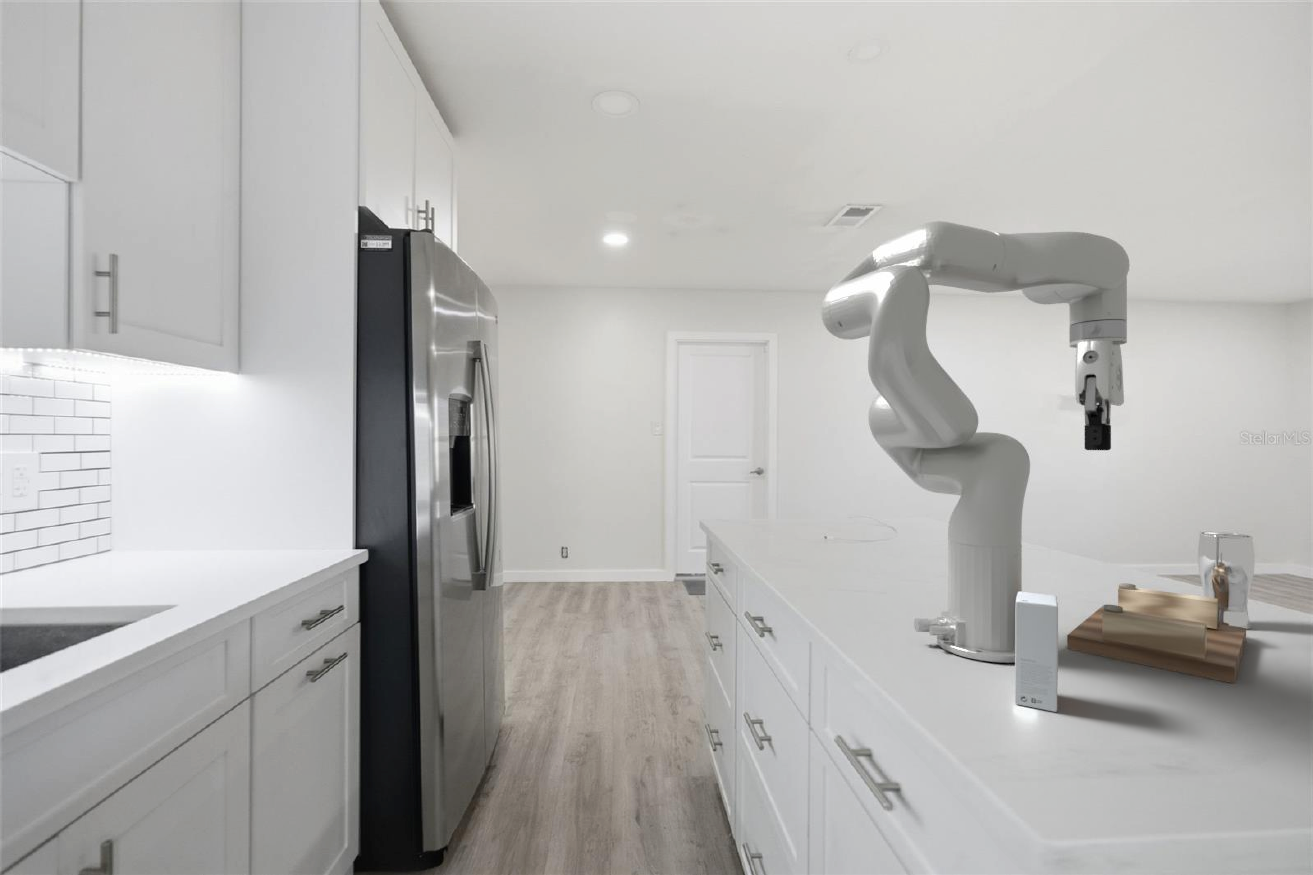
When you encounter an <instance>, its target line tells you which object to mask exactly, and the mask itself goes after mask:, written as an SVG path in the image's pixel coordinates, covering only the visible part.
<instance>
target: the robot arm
mask: <svg viewBox="0 0 1313 875" xmlns="http://www.w3.org/2000/svg"><path fill="white" fill-rule="evenodd" d="M1129 271H1130V259H1129V256H1128V253H1127V251H1126V249H1124V247H1123V246H1122V245H1121V244H1120V243H1119V242H1117V241H1116V240H1114V239H1111V238H1109V237H1106V236H1103V235H1098V234H1094V233H1088V232H1081V231H1049V232H1046V231H1045V232H1022V233H1021V232H1018V233H1017V232H1015V233H1003V232H997V231H993V230H987V229H982V228H977V227H974V226H973V227H972V226H969V225H964V224H960V223H959V224H958V223H953V222H949V221H939V220H938V221H931V222H926V223H924V224H921V225H918V226H916V227H914V228H912V229H909V230H907V231H904V232H902V233H900V234H898V235H895V236H893V237H891V238H889V239H886V240H885V241H883V242H882V243H880V244H879V245H878V246H876V247H875V248H874V249H873V250H872V251H871V252H869V253H868V254H867V255H866V256H865V257H864V258H862V259H861V261H860V262H858V263H857V264H856V265H855V266H854V267H853V268H852V269H851V270H849V271H848V272H847V273H846V274H845V275H844V276H843V277H842V278H840V279H839V280H838V281H837V282H836V283H835V284H834V285H833V286H832V287H831V288H830V289H829V290H828V291H827V293H826V295H825V296H824V298H823V300H822V304H821V312H820V313H821V314H820V315H821V320H822V323H823V325H824V327H825V328H826V330H827V331H828V332H829V333H830V334H831V335H832V336H834V337H837V338H839V339H842V340H856V339H861V338H865V337H869V344H868V353H867V371H868V375H869V378H870V380H871V382H872V385H873V387H875V390H876V391H877V392H878V395H876V396H875V397H874V399H873V400H872V402H871V404H870V407H869V409H868V424H869V429H870V432H871V434H872V436H873V438H874V440H875V442H876V443H877V444H878V445H879V446H880V448H881V449H882V450H883V451H884V452H885V453H886V454H887V456H888V457H889V458H891V460H892V461H893V462H894V463H895V464H896V465H897V466H898V468H900V469H901V470H902V472H904V473H905V474H906V475H907V477H909V479H910V480H911V481H913V482H914V483H915V485H917V486H919V487H920V488H922V489H924V490H925V491H927V492H932V493H937V494H945V495H946V494H947V495H956V496H960V498H959V499H958V502H957V503H956V505H955V507H953V508H954V509H953V511H952V512H951V515H950V518H949V522H948V528H947V541H948V544H947V545H948V546H947V547H948V548H947V551H948V553H947V554H948V555H947V556H948V558H947V561H948V562H947V565H948V566H947V568H948V569H947V571H948V572H947V573H948V576H947V577H948V578H947V579H948V580H947V582H948V583H947V585H948V588H947V591H948V592H947V595H948V596H947V597H948V598H947V603H948V606H947V608H948V609H947V611H941V616H937V617H935V619H929V618H914V621H913V625H914V626H913V628H914V630H915V632H916V633H917V632H918V633H929V635H930V636H936V643H937V645H938V646H939V648H942V649H944V650H945V651H947V652H949V653H951V654H954V655H957V656H960V657H963V658H968V659H972V660H977V661H984V662H990V663H1008V664H1010V663H1011V664H1013V663H1014V664H1015V608H1016V596H1017V594H1018V592H1019V591H1021V592H1023V591H1022V590H1023V583H1022V580H1023V579H1022V578H1023V577H1022V576H1023V574H1022V573H1023V572H1022V571H1023V570H1022V568H1023V566H1022V563H1023V562H1022V560H1023V558H1022V553H1023V550H1022V547H1023V546H1022V533H1023V532H1022V529H1023V527H1022V525H1023V522H1022V521H1023V509H1024V502H1025V496H1026V491H1027V486H1028V483H1029V479H1030V471H1031V460H1030V456H1029V453H1028V451H1027V449H1026V448H1025V446H1024V445H1023V443H1021V442H1020V441H1019V440H1018V439H1016V438H1014V437H1012V436H1010V435H1007V434H1005V433H999V432H989V431H988V432H987V431H985V432H981V431H980V432H979V431H978V432H977V430H978V427H979V416H978V412H977V410H976V408H975V406H974V404H973V402H972V401H971V400H970V399H969V397H968V396H967V395H966V394H965V392H964V391H963V390H962V389H961V388H960V387H959V385H958V384H957V383H956V382H955V381H954V380H953V379H952V377H951V376H950V374H949V373H948V372H947V371H946V370H945V369H944V367H942V366H941V363H939V361H938V360H937V359H936V358H935V356H934V355H933V353H932V352H931V350H930V348H929V344H928V339H927V323H928V314H929V308H930V300H931V297H930V287H929V286H932V285H933V286H943V287H949V288H955V289H963V290H970V291H975V292H980V293H986V294H989V293H990V294H993V293H994V294H995V293H1004V292H1014V291H1020V290H1021V292H1022V293H1023V295H1024V296H1025V297H1026V298H1027V299H1028V300H1029V301H1031V302H1033V303H1036V304H1039V305H1055V304H1056V305H1057V304H1068V305H1069V310H1068V311H1069V314H1068V315H1069V316H1068V317H1069V328H1068V329H1069V330H1068V331H1069V333H1068V334H1069V348H1073V349H1075V348H1076V351H1075V371H1074V372H1075V375H1074V379H1075V380H1074V381H1075V383H1074V384H1075V385H1074V388H1075V391H1074V392H1075V400H1076V403H1077V404H1079V405H1080V406H1084V409H1083V410H1084V450H1085V451H1110V450H1111V449H1112V425H1111V416H1112V415H1111V413H1112V412H1111V410H1112V409H1111V408H1112V405H1113V406H1116V407H1120V406H1122V405H1123V404H1124V403H1125V396H1124V392H1125V391H1124V376H1123V371H1124V368H1123V359H1122V356H1123V355H1122V350H1121V345H1124V344H1127V343H1128V320H1127V319H1128V297H1127V296H1128V285H1127V284H1128V277H1127V276H1128V274H1129Z"/></svg>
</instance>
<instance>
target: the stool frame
mask: <svg viewBox="0 0 1313 875" xmlns="http://www.w3.org/2000/svg"><path fill="white" fill-rule="evenodd" d="M1066 642H1067V643H1066V646H1067V647H1066V649H1067V650H1072V651H1077V652H1080V653H1086V654H1092V655H1096V656H1100V657H1106V658H1111V659H1115V660H1118V661H1125V662H1130V663H1133V664H1139V665H1144V666H1150V667H1155V668H1157V669H1158V668H1159V669H1163V670H1168V671H1174V672H1177V673H1178V672H1179V673H1183V674H1188V675H1193V676H1198V677H1202V678H1208V679H1212V680H1216V681H1221V682H1226V683H1230V684H1236V680H1237V676H1238V672H1239V668H1240V667H1241V666H1240V665H1241V661H1242V657H1243V654H1244V650H1245V646H1246V643H1247V630H1246V628H1242V627H1236V626H1230V625H1223V624H1220V605H1218V626H1217V629H1214V628H1207V623H1201V622H1195V621H1188V620H1182V619H1176V618H1170V617H1163V616H1157V615H1151V614H1145V613H1138V612H1132V611H1126V610H1123V607H1120V606H1118V605H1116V604H1103V605H1102V606H1101V607H1099V608H1098V609H1097V610H1096V611H1095V612H1093V613H1092V614H1091V615H1089V616H1088V617H1087V618H1086V619H1085V620H1084V621H1083V622H1081V623H1080V624H1079V625H1077V626H1076V627H1075V628H1074V629H1072V631H1070V632H1069V633H1068V634H1067V635H1066Z"/></svg>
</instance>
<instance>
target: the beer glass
mask: <svg viewBox="0 0 1313 875" xmlns="http://www.w3.org/2000/svg"><path fill="white" fill-rule="evenodd" d="M1198 538H1199V539H1198V547H1197V548H1198V549H1197V564H1198V565H1197V566H1198V572H1199V573H1198V574H1199V577H1200V581H1201V586H1202V591H1203V597H1208V598H1216V599H1218V605H1220V624H1223V625H1230V626H1236V627H1242V628H1246V631H1247V630H1249V629H1251V627H1252V626H1251V625H1252V624H1251V620H1250V617H1249V611H1248V604H1249V603H1248V600H1249V596H1250V593H1251V592H1250V591H1251V588H1252V584H1253V580H1254V579H1253V578H1254V573H1255V550H1254V542H1253V536H1252V535H1250V534H1243V533H1237V532H1236V533H1235V532H1223V531H1200V532H1199V537H1198Z"/></svg>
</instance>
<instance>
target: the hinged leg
mask: <svg viewBox="0 0 1313 875" xmlns="http://www.w3.org/2000/svg"><path fill="white" fill-rule="evenodd" d="M1136 586H1137V585H1136V584H1133V583H1125V582H1120V583H1118V589H1117V590H1118V591H1117V603H1118V604H1117V606H1120V607H1123V610H1126V611H1132V612H1138V613H1145V614H1151V615H1157V616H1163V617H1170V618H1176V619H1182V620H1188V621H1195V622H1201V623H1207V628H1214V629H1217V626H1218V599H1216V598H1208V597H1204V596H1200V595H1193V594H1184V593H1177V592H1170V591H1163V590H1162V591H1161V590H1155V589H1148V588H1147V589H1146V588H1141V587H1136Z"/></svg>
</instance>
